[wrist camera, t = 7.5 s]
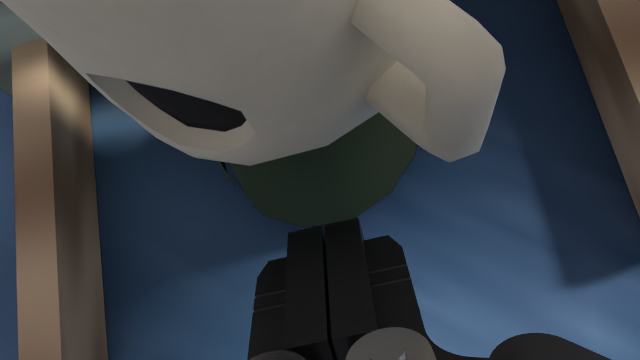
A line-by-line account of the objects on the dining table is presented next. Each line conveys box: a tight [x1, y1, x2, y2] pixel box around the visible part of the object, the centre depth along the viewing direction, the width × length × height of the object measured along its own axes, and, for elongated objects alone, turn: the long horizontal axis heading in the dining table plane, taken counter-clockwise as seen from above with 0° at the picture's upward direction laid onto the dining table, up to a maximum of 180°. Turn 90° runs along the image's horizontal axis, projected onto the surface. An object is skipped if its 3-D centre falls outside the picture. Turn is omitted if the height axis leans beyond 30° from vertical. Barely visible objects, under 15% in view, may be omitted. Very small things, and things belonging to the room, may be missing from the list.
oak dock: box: [0, 0, 640, 360], centre depth 16 cm, size 11×22×7 cm, turn 101°
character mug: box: [0, 0, 506, 227], centre depth 13 cm, size 11×7×13 cm, turn 44°
